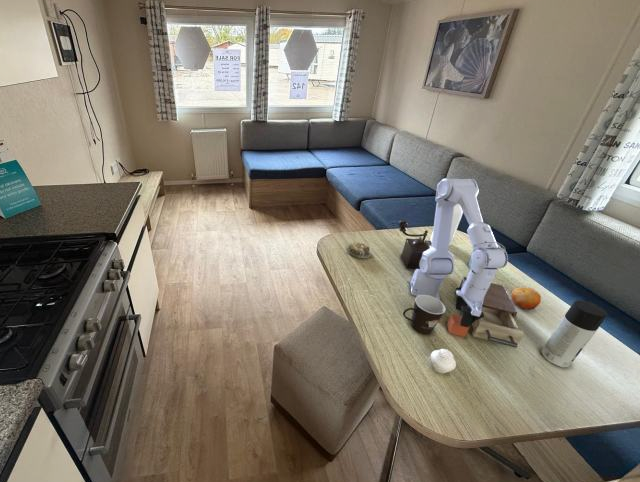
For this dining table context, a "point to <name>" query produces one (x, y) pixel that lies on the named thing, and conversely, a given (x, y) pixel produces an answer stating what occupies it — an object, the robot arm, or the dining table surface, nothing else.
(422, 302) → the coffee mug
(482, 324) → the drawer
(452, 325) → the block
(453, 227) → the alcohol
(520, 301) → the fruit
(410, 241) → the manual coffee grinder
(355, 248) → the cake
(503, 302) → the cabinet
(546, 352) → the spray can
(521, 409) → the dining table surface
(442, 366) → the white garlic bulb
